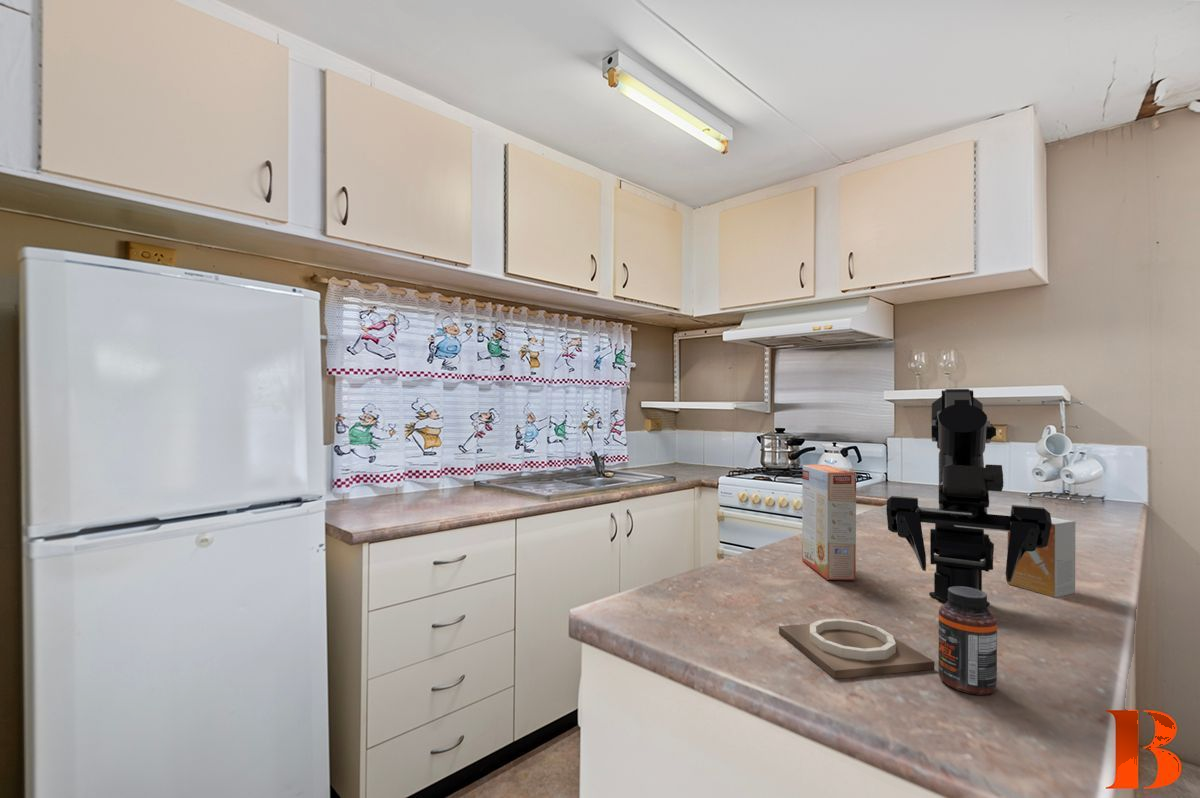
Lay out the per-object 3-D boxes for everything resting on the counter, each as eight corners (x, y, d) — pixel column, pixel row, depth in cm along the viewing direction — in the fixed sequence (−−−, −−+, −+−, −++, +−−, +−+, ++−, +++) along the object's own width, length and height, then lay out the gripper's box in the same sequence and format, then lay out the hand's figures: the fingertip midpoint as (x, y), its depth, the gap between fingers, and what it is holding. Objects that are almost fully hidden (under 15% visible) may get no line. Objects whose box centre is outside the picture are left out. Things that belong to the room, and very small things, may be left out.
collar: (861, 624, 84) (861, 616, 84) (912, 656, 73) (912, 647, 73) (795, 629, 82) (795, 621, 82) (839, 663, 71) (838, 653, 71)
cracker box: (858, 581, 107) (858, 471, 107) (826, 581, 107) (826, 471, 107) (829, 560, 121) (829, 463, 121) (801, 560, 121) (800, 463, 121)
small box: (1006, 584, 106) (1006, 515, 106) (1027, 580, 108) (1027, 512, 108) (1055, 598, 98) (1055, 523, 98) (1076, 593, 101) (1076, 520, 101)
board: (864, 626, 86) (864, 619, 86) (934, 669, 72) (934, 661, 72) (778, 632, 83) (778, 626, 83) (834, 678, 69) (834, 670, 69)
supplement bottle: (927, 673, 71) (927, 583, 71) (971, 671, 71) (971, 582, 71) (961, 698, 65) (961, 600, 65) (1009, 696, 65) (1009, 598, 65)
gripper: (887, 440, 82) (881, 530, 73) (1048, 445, 73) (1066, 549, 63) (890, 487, 89) (885, 575, 79) (1039, 498, 79) (1053, 599, 70)
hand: (965, 574), depth 73 cm, fingers open, 9 cm apart
